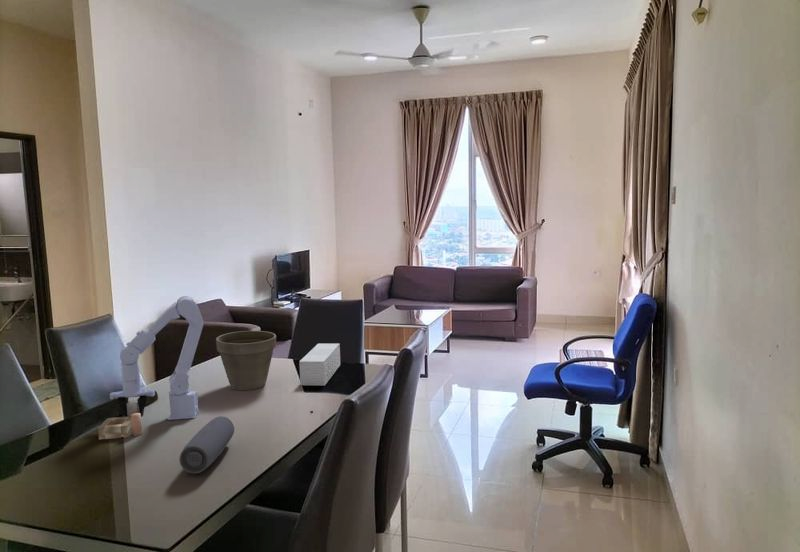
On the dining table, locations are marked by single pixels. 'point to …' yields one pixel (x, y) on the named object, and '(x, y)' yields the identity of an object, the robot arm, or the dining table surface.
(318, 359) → the long white block
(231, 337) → the plant pot
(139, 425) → the round dowel
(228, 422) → the bluetooth speaker
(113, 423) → the socket block
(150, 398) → the hand tool
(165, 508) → the dining table surface
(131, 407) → the square bit
